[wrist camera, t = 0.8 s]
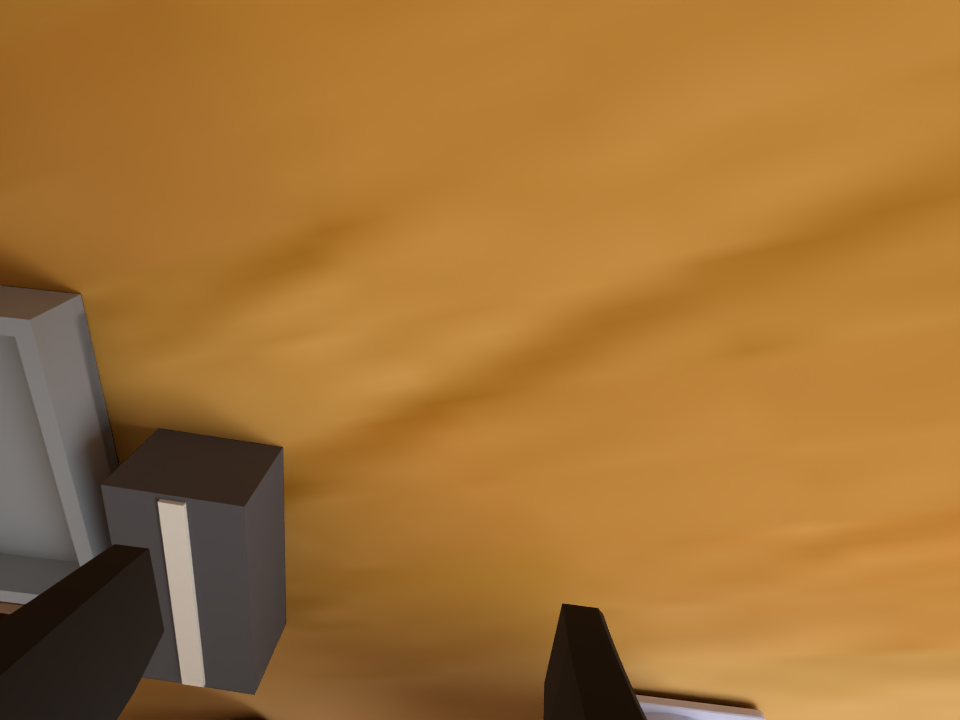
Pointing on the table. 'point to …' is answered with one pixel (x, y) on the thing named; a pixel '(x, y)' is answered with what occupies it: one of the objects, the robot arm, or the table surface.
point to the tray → (49, 442)
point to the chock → (207, 552)
